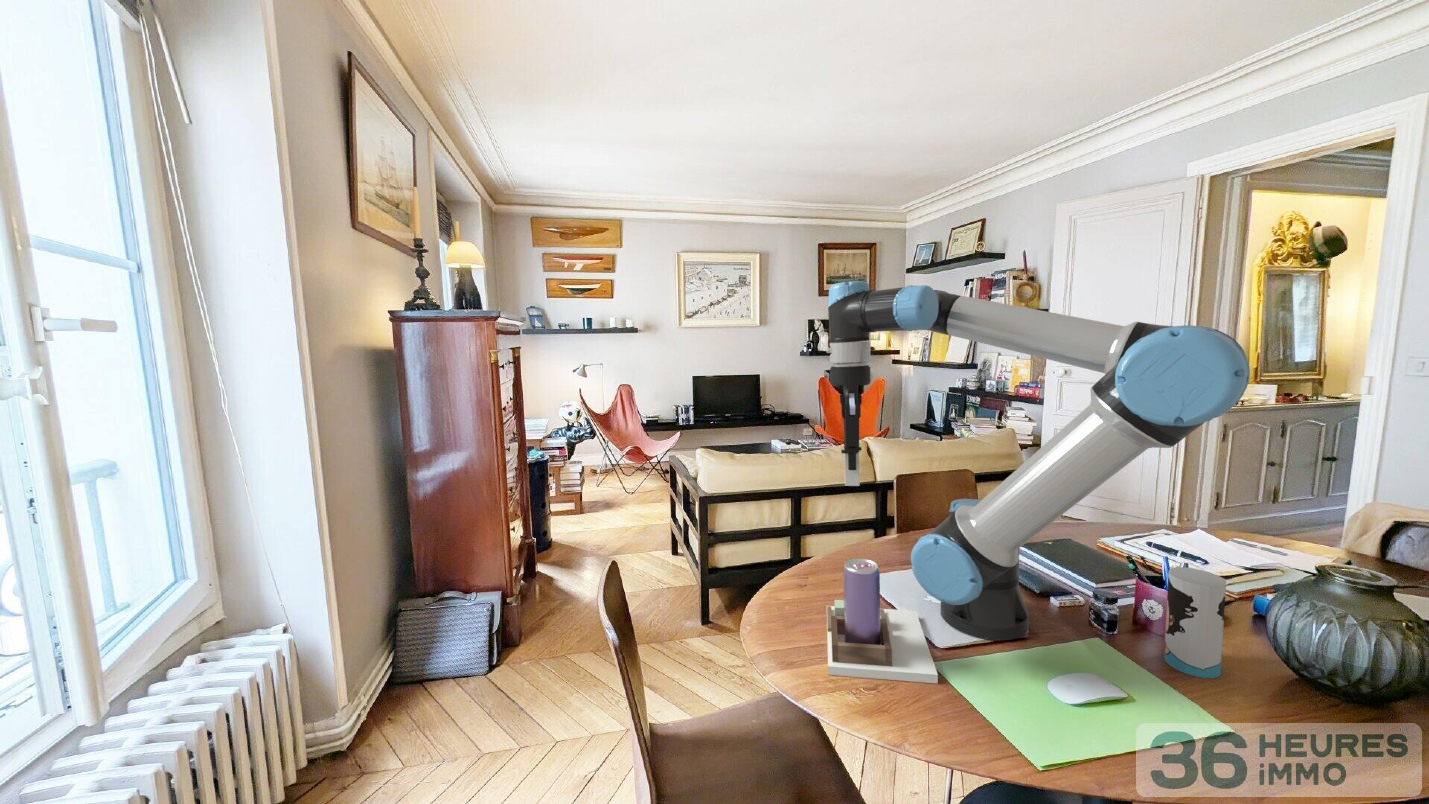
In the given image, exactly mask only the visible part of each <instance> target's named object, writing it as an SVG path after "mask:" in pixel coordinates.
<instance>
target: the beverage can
mask: <svg viewBox="0 0 1429 804" xmlns="http://www.w3.org/2000/svg"><path fill="white" fill-rule="evenodd" d="M843 567H844V568H843V570H842V571H843V575H842V576H843V600H844V620H845V643H857V644H872V645H881V633H880V609H881V581H880V579H881V578H880V576H881V575H880V569H879V565H878V563H877V562H875V561H873V560H870V559H867V558H852V559H848V560H846V561H845V562H844V566H843Z"/></svg>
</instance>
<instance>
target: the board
mask: <svg viewBox="0 0 1429 804" xmlns="http://www.w3.org/2000/svg"><path fill="white" fill-rule="evenodd" d="M831 616H835V605H826V630H827V631H826V636H827V642H826V643H827V675H828V676H840V677H849V678H850V677H851V678H864V679H875V680H876V679H877V680H887V681H888V680H889V681H891V680H892V681H900V682H913V683H914V682H915V683H927V684H938V683H939V682H938V681H939V680H938V679H939V678H938V677H939V674H938V671H937V668H936V666H935V663H934V660H933V657H932V655H931V652H930V649H929V645H928V642H927V640H926V637H925V634H924V631H923V627H922V626H921V625H922V624H921V623H920V620H919V617H918V614H917V612H916V610H911V609H891V608H880V619H885V621H886V626H887V630H888V635H889V639H890V643H891V648H892V667H891V666H878V665H865V664H851V663H838V662H832V636H831ZM838 642H843V643H845V635H838Z"/></svg>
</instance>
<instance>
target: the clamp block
mask: <svg viewBox="0 0 1429 804" xmlns="http://www.w3.org/2000/svg"><path fill="white" fill-rule="evenodd" d="M834 606H835V616H844V599H834Z"/></svg>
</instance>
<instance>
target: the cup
mask: <svg viewBox="0 0 1429 804" xmlns="http://www.w3.org/2000/svg"><path fill="white" fill-rule="evenodd" d="M1167 579H1168V580H1167V595H1166V596H1167V598H1166V617H1165V636H1164V656H1163V659H1164V661H1165V663H1167V665H1168V666H1170V667H1171V668H1173V669H1174V670H1176V671H1179V672H1181V673H1183V674H1184V675H1185V674H1186V675H1189V676H1192V677H1196V678H1202V679H1216V678H1218V677H1220V676H1221V668H1222V653H1223V649H1222V648H1223V639H1224V638H1223V637H1224V625H1225V624H1224V623H1225V622H1224V620H1225V607H1226V605H1225V604H1226V588H1227V580H1226V579H1224V578H1223V577H1222V576H1219V575H1218V574H1216V573H1212V572H1210V571H1206V570H1204V569H1198V568H1192V567H1179V566H1177V567H1172V568H1170V569H1168V577H1167Z"/></svg>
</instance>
